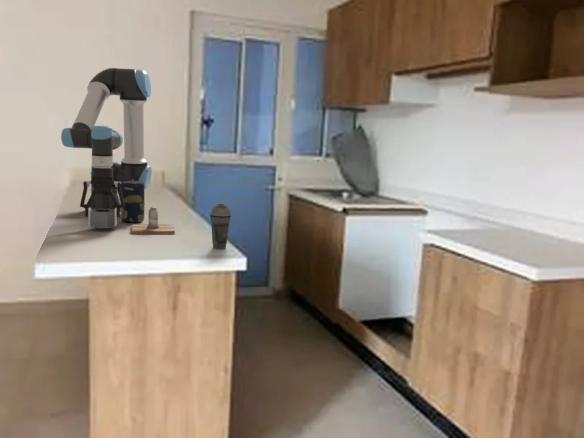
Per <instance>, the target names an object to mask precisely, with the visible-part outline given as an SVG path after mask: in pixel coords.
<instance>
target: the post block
mask: <svg viewBox="0 0 584 438" xmlns="http://www.w3.org/2000/svg"><path fill="white" fill-rule="evenodd" d="M149 208H150V209H148V223H147V224H146V223H144V224H143V223H137V224H135V223H133V224H131V235H176V231H175V227H174V224H168V223H166V224H163V223H161V224H159V210H158V208H157V207H156V206H150V207H149Z"/></svg>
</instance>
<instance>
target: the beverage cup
mask: <svg viewBox="0 0 584 438" xmlns="http://www.w3.org/2000/svg"><path fill="white" fill-rule="evenodd" d="M225 198H226V191H223V195H222V203H218V204H216V205H213V207H212V208H211V210H210V213H209V215H210V221H211V240H212V249H214V250H226V248H227V244H228V235H229V228H230V226H229V225H230V222H231V217H232V216H231V210H230V208H229V206H227V205H226V204H225Z"/></svg>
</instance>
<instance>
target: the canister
mask: <svg viewBox="0 0 584 438" xmlns="http://www.w3.org/2000/svg"><path fill="white" fill-rule="evenodd" d="M121 191H122V195H123V200H124V204H125V206H124V207H123V208H121V212H120V219H121V221H122V222H127V223H139V222H140V223H141V222H143V221H144V220H145V206H146V205H145V204H146V203H145V200H146V199H145V190H144V183H143V182H140V181H134V180H133V179H132V181H124V182H122V183H121Z"/></svg>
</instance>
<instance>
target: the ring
mask: <svg viewBox="0 0 584 438" xmlns="http://www.w3.org/2000/svg"><path fill="white" fill-rule="evenodd" d="M89 227H90V228H94V229H110V228H115V227H116V226H115V211H114V210H113V209H92V210H91V211H90V226H89Z"/></svg>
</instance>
